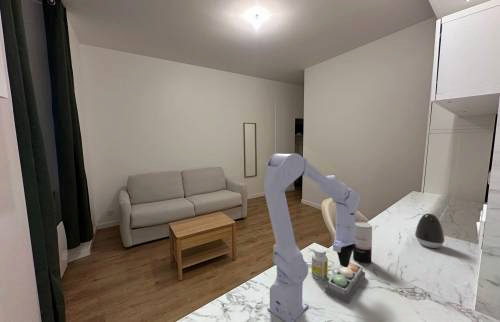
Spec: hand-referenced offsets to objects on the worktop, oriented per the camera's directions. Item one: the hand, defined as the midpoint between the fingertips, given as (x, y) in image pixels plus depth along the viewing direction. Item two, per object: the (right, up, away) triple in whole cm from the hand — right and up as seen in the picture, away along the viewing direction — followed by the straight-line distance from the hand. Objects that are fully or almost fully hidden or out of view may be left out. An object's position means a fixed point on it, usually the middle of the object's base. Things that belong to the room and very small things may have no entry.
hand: (344, 265), depth 65 cm
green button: (-3, -4, -3) cm, 6 cm away
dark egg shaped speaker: (+54, -6, +29) cm, 61 cm away
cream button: (+1, -4, +1) cm, 4 cm away
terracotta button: (+5, -5, +5) cm, 9 cm away
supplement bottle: (-6, -7, +6) cm, 11 cm away
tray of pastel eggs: (+1, -7, +2) cm, 7 cm away
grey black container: (+15, -7, +16) cm, 23 cm away
